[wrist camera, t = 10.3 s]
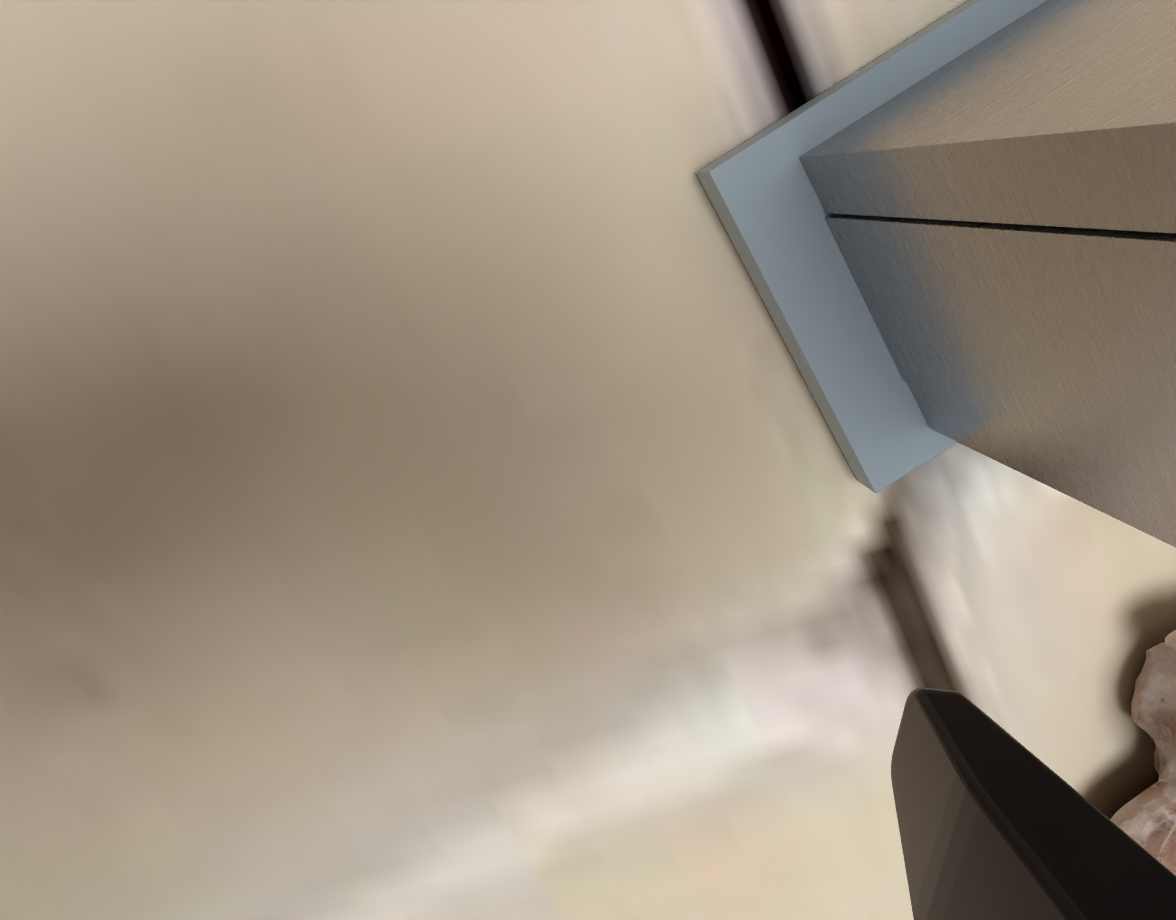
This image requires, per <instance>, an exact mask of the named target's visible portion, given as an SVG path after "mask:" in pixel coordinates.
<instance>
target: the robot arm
mask: <svg viewBox="0 0 1176 920" xmlns="http://www.w3.org/2000/svg"><path fill="white" fill-rule="evenodd" d="M891 779H892V787H893V793H894V799H895V805H896V812H897V818H898V824H899V830H900V836H901V843H902V849H903V855H904V861H905V868H906V874H907V880H908V886H909V892H910V899H911V905H912V911H913V917H914V920H1176V875H1175V874H1173V873H1172V872H1171V871H1170V870H1169V869H1167V868H1166V867H1165V866H1164V865H1163V864H1162V863H1160V862H1159V861H1158V860H1157V859H1156V858H1155V857H1153V856H1152V855H1151V854H1150V853H1149V852H1147V851H1146V850H1145V849H1144V848H1143V847H1142V846H1140V845H1139V844H1138V843H1137V842H1136V841H1135V840H1133V839H1132V838H1131V837H1130V836H1129V835H1127V834H1126V833H1125V832H1124V831H1123V830H1122V829H1120V828H1119V827H1118V826H1117V825H1116V824H1115V823H1113V822H1112V821H1111V820H1110V819H1109V818H1107V817H1106V816H1105V815H1104V814H1103V813H1102V812H1100V811H1099V810H1098V809H1097V808H1096V807H1094V806H1093V805H1092V804H1091V803H1090V802H1089V801H1087V800H1086V799H1085V798H1084V797H1083V796H1082V795H1080V794H1079V793H1078V792H1077V791H1076V790H1074V789H1073V788H1072V787H1071V786H1070V785H1069V784H1067V783H1066V782H1065V781H1064V780H1063V779H1062V778H1060V777H1059V776H1058V775H1057V774H1056V773H1054V772H1053V771H1052V770H1051V769H1050V768H1049V767H1047V766H1046V765H1045V764H1044V763H1043V762H1041V761H1040V760H1039V759H1038V758H1037V757H1036V756H1034V755H1033V754H1032V753H1031V752H1030V751H1029V750H1027V749H1026V748H1025V747H1024V746H1023V745H1021V744H1020V743H1019V742H1018V741H1017V740H1016V739H1014V738H1013V737H1012V736H1011V735H1010V734H1009V733H1007V732H1006V731H1005V730H1004V729H1003V728H1001V727H1000V726H999V725H998V724H997V723H996V722H994V721H993V720H992V719H991V718H990V717H989V716H987V715H986V714H985V713H984V712H983V711H981V710H980V709H979V708H978V707H977V706H976V705H974V704H973V703H972V702H971V701H970V700H968V699H967V698H966V697H965V696H963V695H962V694H961V693H959V692H956V691H952V690H939V689H926V688H917V689H915V690H913V691H912V692H911V693H910V694H909V696H908V698H907V700H906V703H905V707H904V711H903V715H902V719H901V723H900V727H899V731H898V735H897V739H896V742H895V746H894V750H893V755H892V762H891Z"/></svg>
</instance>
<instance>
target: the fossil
mask: <svg viewBox="0 0 1176 920" xmlns="http://www.w3.org/2000/svg"><path fill="white" fill-rule="evenodd" d="M1131 714H1132V720H1133V722H1134V723H1135V724H1136V725H1137V726H1139V727H1140V728H1142V729H1143V730H1144V731H1146V732H1147V733H1148V734H1149V735H1150V737H1151V738H1152V739H1153V740H1154V742H1155V745H1156V749H1155V752H1154V768H1155V769H1156V771H1157V772H1158V775H1159V781H1158V782H1156V783H1155V784H1153V785H1152V786H1150V787H1149V788H1147V789H1146V790H1144V791H1143V792H1142V793H1140V794H1139V795H1138V796H1136V797H1135V798H1133V799H1132V800H1131V801H1129V802H1128V803H1126V804H1125V805H1124V806H1122V807H1121V808H1120V809H1119V810H1118V811H1117V812H1116V813H1115V814H1114V815H1113V816H1112V818H1111V819H1110V820H1111V821H1112V822H1113V823H1115V824H1116V825H1117V826H1118V827H1119V828H1120V829H1122V830H1123V831H1124V832H1125V833H1126V834H1127V835H1129V836H1130V837H1131V838H1132V839H1133V840H1135V841H1136V842H1137V843H1138V844H1139V845H1140V846H1142V847H1143V848H1144V849H1145V850H1146V851H1147V852H1149V853H1150V854H1151V855H1152V856H1153V857H1155V858H1156V859H1157V860H1158V861H1159V862H1160V863H1162V864H1163V865H1164V866H1165V867H1166V868H1167V869H1169V870H1170V871H1171V872H1172V873H1173V874H1175V875H1176V630H1174V631H1173V632H1171V633H1170V634H1169V635H1167V636H1166V637H1165V642H1163V643H1160V644H1158V645H1156V646H1154V647H1152V648H1150V649H1148V650H1146V660H1145V663H1144V666H1143V669H1142V671H1141V672H1140V674H1139V676H1138V677H1137V679H1136V680H1135V691H1134V695H1133V699H1132V703H1131Z"/></svg>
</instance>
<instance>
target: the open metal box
mask: <svg viewBox="0 0 1176 920" xmlns="http://www.w3.org/2000/svg"><path fill="white" fill-rule="evenodd" d="M798 158H799V160H800V162H801V164H802V166H803V168H804V170H805V172H806V174H807V176H808V178H809V181H810V183H811V185H812V187H813V189H814V191H815V193H816V195H817V197H818V199H819V201H820V203H821V205H822V207H823V210H824V212H825V213H830V214H829V215H827V216H825V217H824V219H825V221H826V223H827V225H828V227H829V229H830V231H831V233H832V235H833V237H834V239H835V241H836V244H837V246H838V248H839V250H840V252H841V254H842V256H843V258H844V260H845V262H846V264H847V266H848V268H849V270H850V272H851V275H852V277H853V279H854V281H855V283H856V285H857V287H858V289H859V291H860V293H861V295H862V297H863V299H864V301H865V303H866V306H867V308H868V310H869V312H870V314H871V316H872V318H873V320H874V322H875V324H876V326H877V328H878V330H879V332H880V334H881V337H882V339H883V341H884V343H885V345H886V347H887V349H888V351H889V353H890V355H891V357H892V359H893V361H894V363H895V365H896V368H897V370H898V372H899V374H900V376H901V378H902V380H903V381H905V382H907V384H908V386H909V388H910V390H911V392H912V394H913V396H914V398H915V400H916V402H917V404H918V406H919V409H920V411H921V413H922V415H923V417H924V419H925V421H926V423H927V425H928V427H929V428H930V429H932V430H934V431H936V432H938V433H940V434H942V435H944V436H946V437H948V438H950V439H953V440H955V441H957V442H959V443H961V444H963V445H965V446H967V447H969V448H971V449H973V450H975V451H977V452H979V453H981V454H984V455H986V456H988V457H990V458H992V459H994V460H996V461H998V462H1000V463H1002V464H1004V465H1006V466H1008V467H1010V468H1012V469H1015V470H1017V471H1019V472H1021V473H1023V474H1025V475H1027V476H1029V477H1031V478H1033V479H1035V480H1037V481H1039V482H1041V483H1044V484H1046V485H1048V486H1050V487H1052V488H1054V489H1056V490H1058V491H1060V492H1062V493H1064V494H1066V495H1068V496H1070V497H1072V498H1075V499H1077V500H1079V501H1081V502H1083V503H1085V504H1087V505H1089V506H1091V507H1093V508H1095V509H1097V510H1099V511H1101V512H1103V513H1106V514H1108V515H1110V516H1112V517H1114V518H1116V519H1118V520H1120V521H1122V522H1124V523H1126V524H1128V525H1130V526H1132V527H1134V528H1137V529H1139V530H1141V531H1143V532H1145V533H1147V534H1149V535H1151V536H1153V537H1155V538H1157V539H1159V540H1161V541H1163V542H1166V543H1168V544H1170V545H1172V546H1174V547H1176V0H1047V1H1045V2H1044V3H1042V4H1040V5H1039V6H1037V7H1036V8H1034V9H1032V10H1031V11H1029V12H1028V13H1026V14H1025V15H1023V16H1021V17H1020V18H1018V19H1017V20H1015V21H1013V22H1012V23H1010V24H1009V25H1007V26H1006V27H1004V28H1002V29H1001V30H999V31H998V32H996V33H994V34H993V35H991V36H990V37H988V38H987V39H985V40H983V41H982V42H980V43H979V44H977V45H975V46H974V47H972V48H971V49H969V50H968V51H966V52H964V53H963V54H961V55H960V56H958V57H956V58H955V59H953V60H952V61H950V62H949V63H947V64H945V65H944V66H942V67H941V68H939V69H937V70H936V71H934V72H933V73H931V74H930V75H928V76H926V77H925V78H923V79H922V80H920V81H918V82H917V83H915V84H914V85H912V86H911V87H909V88H907V89H906V90H904V91H903V92H901V93H899V94H898V95H896V96H895V97H893V98H892V99H890V100H888V101H887V102H885V103H884V104H882V105H880V106H879V107H877V108H876V109H874V110H873V111H871V112H869V113H868V114H866V115H865V116H863V117H861V118H860V119H858V120H857V121H855V122H854V123H852V124H850V125H849V126H847V127H846V128H844V129H842V130H841V131H839V132H838V133H836V134H834V135H833V136H831V137H830V138H828V139H827V140H825V141H823V142H822V143H820V144H819V145H817V146H815V147H814V148H812V149H811V150H809V151H808V152H806V153H804V154H803V155H801V156H800V157H798Z"/></svg>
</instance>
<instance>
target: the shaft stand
mask: <svg viewBox="0 0 1176 920" xmlns="http://www.w3.org/2000/svg"><path fill="white" fill-rule="evenodd" d="M1045 1H1047V0H968V1H967V2H965V3H964V4H962V5H960V6H959V7H957V8H956V9H954V10H952V11H951V12H949V13H948V14H946V15H945V16H943V17H941V18H940V19H938V20H937V21H935V22H933V23H932V24H930V25H929V26H927V27H926V28H924V29H922V30H921V31H919V32H918V33H916V34H914V35H913V36H911V37H910V38H908V39H907V40H905V41H903V42H902V43H900V44H899V45H897V46H895V47H894V48H892V49H891V50H889V51H888V52H886V53H884V54H883V55H881V56H880V57H878V58H876V59H875V60H873V61H872V62H870V63H869V64H867V65H865V66H864V67H862V68H861V69H859V70H857V71H856V72H854V73H853V74H851V75H850V76H848V77H846V78H845V79H843V80H842V81H840V82H839V83H837V84H835V85H834V86H832V87H831V88H829V89H827V90H826V91H824V92H823V93H821V94H820V95H818V96H816V97H815V98H813V99H812V100H810V101H808V102H807V103H805V104H804V105H802V106H801V107H799V108H797V109H796V110H794V111H793V112H791V113H789V114H788V115H786V116H785V117H783V118H782V119H780V120H778V121H777V122H775V123H774V124H772V125H770V126H769V127H767V128H766V129H764V130H763V131H761V132H759V133H758V134H756V135H755V136H753V137H751V138H750V139H748V140H747V141H745V142H744V143H742V144H740V145H739V146H737V147H736V148H734V149H732V150H731V151H729V152H728V153H726V154H725V155H723V156H721V157H720V158H718V159H717V160H715V161H714V162H712V163H710V164H709V165H707V166H706V167H704V168H702V169H701V170H699V171H698V172H696V174H697V176H698V178H699V180H700V182H701V184H702V186H703V188H704V190H705V191H706V193H707V195H708V197H709V199H710V201H711V203H712V205H713V207H714V209H715V211H716V212H717V214H718V216H719V218H720V220H721V222H722V224H723V226H724V228H725V230H726V232H727V233H728V235H729V237H730V239H731V241H732V243H733V245H734V247H735V249H736V251H737V253H738V254H739V256H740V258H741V260H742V262H743V264H744V266H745V268H746V270H747V272H748V273H749V275H750V277H751V279H752V281H753V283H754V285H755V287H756V289H757V291H758V293H759V294H760V296H761V298H762V300H763V302H764V304H765V306H766V308H767V310H768V312H769V314H770V315H771V317H772V319H773V321H774V323H775V325H776V327H777V329H778V331H779V333H780V335H781V336H782V338H783V340H784V342H785V344H786V346H787V348H788V350H789V352H790V354H791V356H792V357H793V359H794V361H795V363H796V365H797V367H798V369H799V371H800V373H801V375H802V377H803V378H804V380H805V382H806V384H807V386H808V388H809V390H810V392H811V394H812V396H813V398H814V399H815V401H816V403H817V405H818V407H819V409H820V411H821V413H822V415H823V417H824V418H825V420H826V422H827V424H828V426H829V428H830V430H831V432H832V434H833V436H834V438H835V439H836V441H837V443H838V445H839V447H840V449H841V451H842V453H843V455H844V457H845V459H846V460H847V462H848V464H849V466H850V468H851V470H852V472H853V474H854V476H855V478H856V480H858V481H859V482H860V483H862V484H863V485H865V486H866V487H868V488H869V489H871V490H872V491H873V492H875V493H877V492H879V491H880V490H882V489H883V488H885V487H887V486H888V485H890V484H892V483H893V482H895V481H896V480H898V479H900V478H901V477H903V476H904V475H906V474H908V473H909V472H911V471H912V470H914V469H916V468H917V467H919V466H920V465H922V464H924V463H925V462H927V461H928V460H930V459H932V458H933V457H935V456H936V455H938V454H940V453H941V452H943V451H945V450H946V449H948V448H949V447H951V446H953V445H954V444H956V443H957V441H955V440H953V439H950V438H948V437H946V436H944V435H942V434H940V433H938V432H936V431H934V430H932V429H930V428H929V427H928V425H927V423H926V421H925V419H924V417H923V415H922V413H921V411H920V409H919V406H918V404H917V402H916V400H915V398H914V396H913V394H912V392H911V390H910V388H909V386H908V384H907V382H905V381H903V380H902V378H901V376H900V374H899V372H898V370H897V368H896V365H895V363H894V361H893V359H892V357H891V355H890V353H889V351H888V349H887V347H886V345H885V343H884V341H883V339H882V337H881V334H880V332H879V330H878V328H877V326H876V324H875V322H874V320H873V318H872V316H871V314H870V312H869V310H868V308H867V306H866V303H865V301H864V299H863V297H862V295H861V293H860V291H859V289H858V287H857V285H856V283H855V281H854V279H853V277H852V275H851V272H850V270H849V268H848V266H847V264H846V262H845V260H844V258H843V256H842V254H841V252H840V250H839V248H838V246H837V244H836V241H835V239H834V237H833V235H832V233H831V231H830V229H829V227H828V225H827V223H826V221H825V219H824V217H825V216H827V215H829V214H830V213H825V212H824V210H823V207H822V205H821V203H820V201H819V199H818V197H817V195H816V193H815V191H814V189H813V187H812V185H811V183H810V181H809V178H808V176H807V174H806V172H805V170H804V168H803V166H802V164H801V162H800V160H799V158H798V157H800V156H801V155H803V154H804V153H806V152H808V151H809V150H811V149H812V148H814V147H815V146H817V145H819V144H820V143H822V142H823V141H825V140H827V139H828V138H830V137H831V136H833V135H834V134H836V133H838V132H839V131H841V130H842V129H844V128H846V127H847V126H849V125H850V124H852V123H854V122H855V121H857V120H858V119H860V118H861V117H863V116H865V115H866V114H868V113H869V112H871V111H873V110H874V109H876V108H877V107H879V106H880V105H882V104H884V103H885V102H887V101H888V100H890V99H892V98H893V97H895V96H896V95H898V94H899V93H901V92H903V91H904V90H906V89H907V88H909V87H911V86H912V85H914V84H915V83H917V82H918V81H920V80H922V79H923V78H925V77H926V76H928V75H930V74H931V73H933V72H934V71H936V70H937V69H939V68H941V67H942V66H944V65H945V64H947V63H949V62H950V61H952V60H953V59H955V58H956V57H958V56H960V55H961V54H963V53H964V52H966V51H968V50H969V49H971V48H972V47H974V46H975V45H977V44H979V43H980V42H982V41H983V40H985V39H987V38H988V37H990V36H991V35H993V34H994V33H996V32H998V31H999V30H1001V29H1002V28H1004V27H1006V26H1007V25H1009V24H1010V23H1012V22H1013V21H1015V20H1017V19H1018V18H1020V17H1021V16H1023V15H1025V14H1026V13H1028V12H1029V11H1031V10H1032V9H1034V8H1036V7H1037V6H1039V5H1040V4H1042V3H1044V2H1045Z"/></svg>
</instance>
